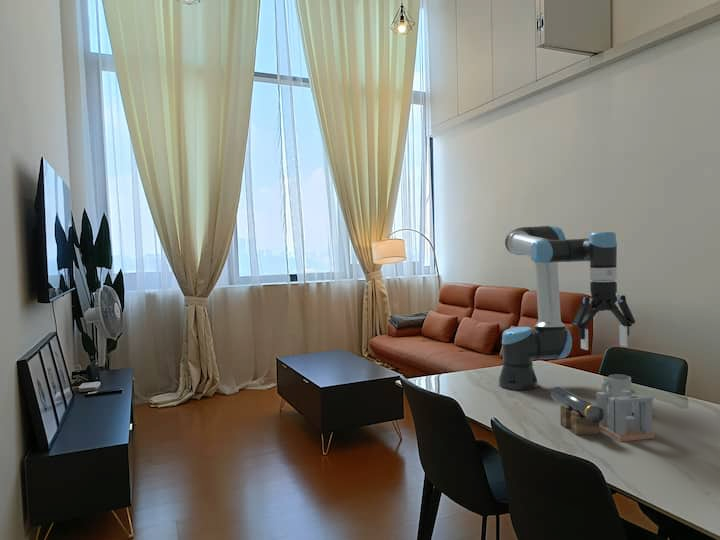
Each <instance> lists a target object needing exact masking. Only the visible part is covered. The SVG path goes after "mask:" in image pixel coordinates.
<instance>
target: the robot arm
mask: <svg viewBox="0 0 720 540" xmlns="http://www.w3.org/2000/svg"><path fill="white" fill-rule="evenodd" d="M504 244H505V245H504V246H505V248H506V250H507V251H508V253H510V254H513V255H516V256H527V257H530V261H531V262H533V263H534V264H535V265H534V266H535V280H536V282H535V283H536V299H537V300H536V301H537V317H538V321H537V323H536V324H535V325H534V330H533V329H532V327H530V326H517V327H515V326H514V327H512V328H507V329H505V330H504V331H503V332H502V334H501V335H502V336H501V337H502V339H501V347H502V349H501V350H502V368H501V370H500V374H499V377H498V385H499V387H501V388H504V389H507V390H508V389H509V390H514V391H529V390H535V389H537V388H538V385H539V384H538V379H537V376H536V372H535V370H534V364H533V361H534V360H549V359H550V360H558V359H564V358H566V357H568V356H569V354H570V353H571V350H572V346H573V338H572V333H571V332H570V330H569V329H568V328H566V324H564V323H563V322H562V319H561V317H562V316H561V300H560V299H561V298H560V286H559V285H560V284H559V283H560V282H559V281H560V280H559V266H558V265H559V263H573V262H576V263H577V262H589V279H590V284H589V288H590V297H587V296H582V297H581V302H580V306H579V308H578V310H577V313H576V315H575V317H574V320H573V321H572V327H575V328H577V329H578V339H580V349H582V350H585V351H589V329H588V328H587V327H588V325H589V323H591V321H592V320H593V318H594V317H595V316H596V315H597V313H599V312H600V311H601V312H604V311H610V312H611V313H612V315H614V316H615V318H616V319H617V320H618V322H619V323H620V325H619V326H618V327H619V328H618V329H619V346H620V347H624V348H628V337H629V336H630V327H632V326H633V325H635V323H636V320H635V318H634V316H633V314H632V311H631V310H630V308H629V305H628V302H627V298H626V295H623V294H617V292H618V284H617V282H616V280H617V278H618V277H617V275H618V273H617V272H618V270H617V269H618V268H617V259H618V258H617V255H618V254H617V246H618V242H617V235H616V233H615V232H614V231H600V232H599V231H596V232H591V233H590V234H589V238H587V237H585V238H575V239H571V238H570V239H566V235H565V233H564V231H563V230H562V228H560V227H559V226H553V225H544V226H543V225H542V226H540V225H539V226H521V227H517V228H515V229H512V230H511V231H510V232H508V234H506V236H505V241H504ZM616 294H617V295H616ZM616 302H617V304H618V306H617V304H616ZM590 304H591V305H590Z"/></svg>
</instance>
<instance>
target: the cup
mask: <svg viewBox="0 0 720 540" xmlns="http://www.w3.org/2000/svg"><path fill="white" fill-rule="evenodd" d="M624 385H628V386H624ZM607 386H608V392H607ZM621 388H622V389H624V390H628V391H630V390H629V389H630V388H632V377H631V376H628V375H626V374H618V373H617V374H609V375H608V379H606V380H603V382H602V384H601V391H600V392H604V393H606V394H607V399H608V398H612V397H621V390H619V389H621Z"/></svg>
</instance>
